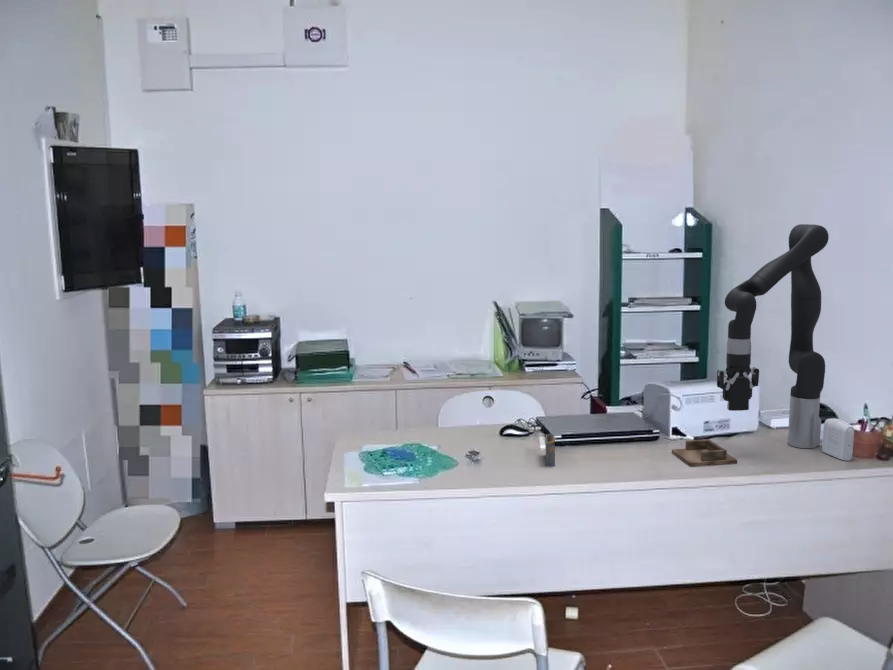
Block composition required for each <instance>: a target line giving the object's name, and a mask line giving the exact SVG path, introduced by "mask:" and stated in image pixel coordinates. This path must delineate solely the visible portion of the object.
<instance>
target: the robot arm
mask: <svg viewBox="0 0 893 670" xmlns="http://www.w3.org/2000/svg"><path fill="white" fill-rule="evenodd" d="M829 237H830V236H829V231H828V230H827V228H825V227H824V226H822V225H819V224H804V223H803V224H797V225H795V226H794V227H792V228H791V230H790V233H789V236H788V251H786V252H784V253H783V254H782V255H780V256H778V257H776V258H774V259H772V260H770V261H769V262H767V263H766V264H764V265H763V266H761V267H760V268H759V269H758V270H757V271H756V272H755V273H754V274H753V275H751V276H750V278H749V279H747V280H745V281H744V282H741V283H740V284H739V285H737V286H735V287H734V288H732V289H731V290H730V291H729V292H728V293H727V294H726V297H725V298H724V305H725V308H727V310H728V311H731V312H734V313H735V317H734V319H731V320H730V321H729V322H728V324H727V325H728V327H727V341H726V359H725V360H726V361H725V363H726V368H725V370H724V369H723V370H722V369H717V370H716V387H717V388H719V389H721V390H722V399H723V400H724V401H726V402H728V401H729V388H730V384H731V385H732V384H733V383H734V381H735V380H736V378H737V377H745V378H748V379H749V380H750V395H749V400H751V399H752V397H753V389H754V387H758V386H759V383H760V382H759V377H760V369H759V368H757V367H751V361H752V359H751V358H752V355H751V354H752V341H751V337H752V336H751V335H752V333H751V332H752V323H753V321H754V318H755V314H756V311H757V299H756V297H759V296H764V295H765V294H767V293H768V292H770V290H771V289H773V287H774V286H775V285H777V284H778V283H779V282H780V281H781V280H782V279H783V278H784V277H786V276H787V275H788V274H789V273H790V275H791V276H790V279H791V282H790V285H791V286H790V290H791V292H790V319H791V320H790V324H791V325H790V329H791V331H790V333H791V334H790V343H789V353H788V365H789V368H790V369H791V370H792V372H794V373H795V374H796V381H795V385H792V386H791V388H790V396H789V397H790V398H789V413H788V416H789V417H788V432H787V444H788V445H789V446H792V447H794V448H800V449H813V448H816V447H820V446H821V435H822V434H821V432H822V430H821V429H822V419H821V418H820V406H821V405H820V404H821V403H820V402H821V394H822V391H823V389H824V384H825V375H826V361H825V360H826V359H824V356H823V355H822V354H820V353H819V352H817V351H814V340H813V339H814V333H815V332H814V331H815V328H816V326H817V323H818V322H819V318H820V315H821V312H822V291H821V287H820V284H819V281H818V279H817V277H816V275H815V271H814V269H813V267H812V257H814V256H815V255H816V254H818V253H819V252H820V251H821V252H822V251H823V250H824V248H825V247H826V246H827V244H828V242H829ZM750 374H751V378H750V377H749V375H750ZM725 376H726V378H725ZM728 378H731V380H730V381H728Z"/></svg>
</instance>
